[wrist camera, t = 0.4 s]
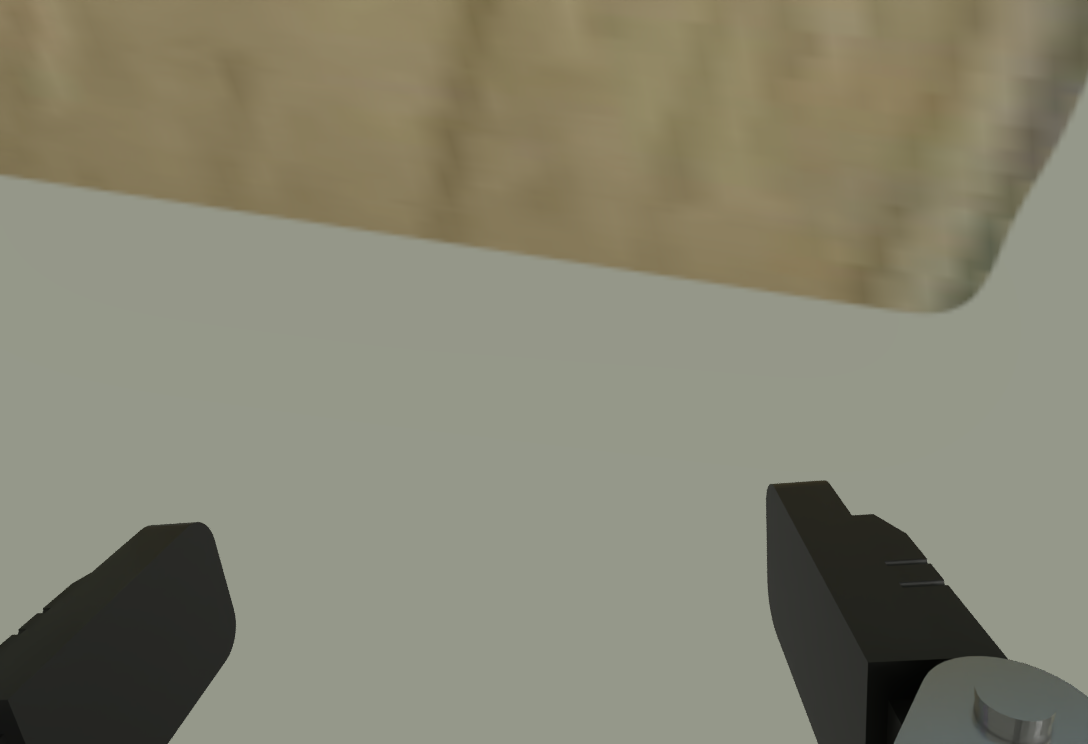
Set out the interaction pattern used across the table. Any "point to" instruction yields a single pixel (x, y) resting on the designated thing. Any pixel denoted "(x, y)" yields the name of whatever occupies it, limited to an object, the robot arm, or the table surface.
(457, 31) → the table surface
